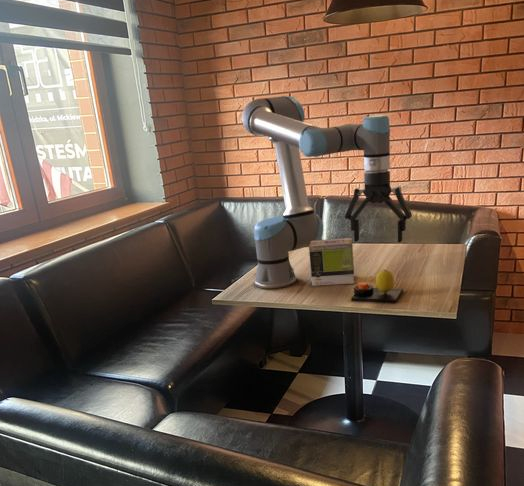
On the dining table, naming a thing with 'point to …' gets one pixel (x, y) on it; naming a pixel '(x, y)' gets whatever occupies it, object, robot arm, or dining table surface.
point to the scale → (376, 295)
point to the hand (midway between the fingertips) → (378, 241)
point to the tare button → (363, 285)
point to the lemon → (384, 281)
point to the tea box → (331, 261)
